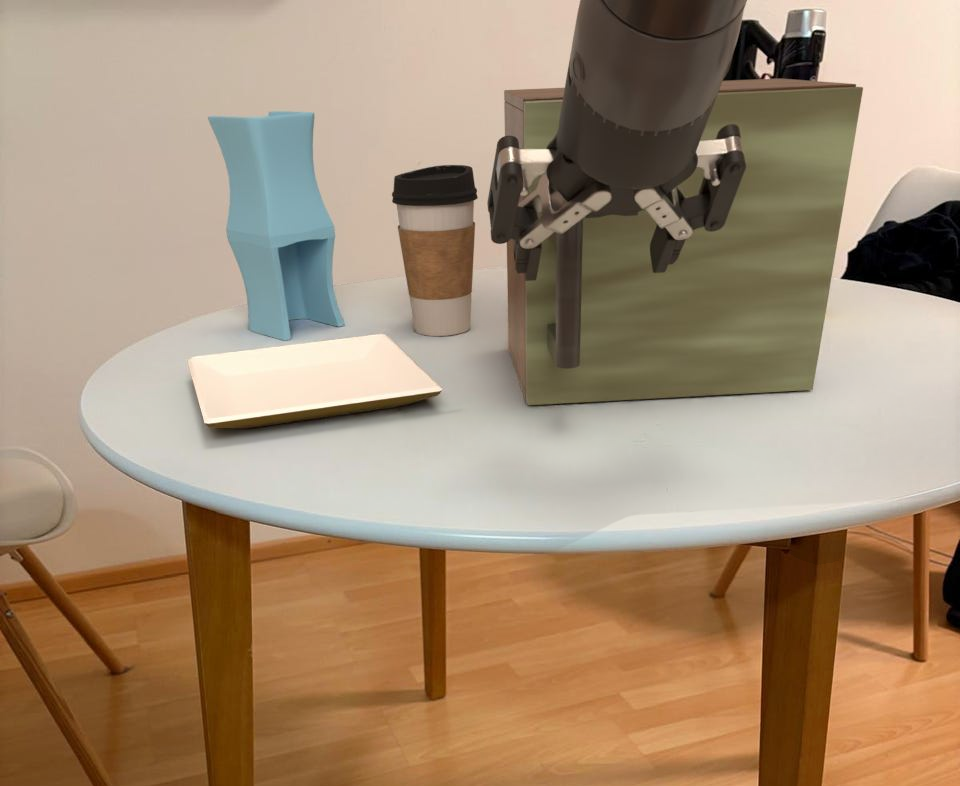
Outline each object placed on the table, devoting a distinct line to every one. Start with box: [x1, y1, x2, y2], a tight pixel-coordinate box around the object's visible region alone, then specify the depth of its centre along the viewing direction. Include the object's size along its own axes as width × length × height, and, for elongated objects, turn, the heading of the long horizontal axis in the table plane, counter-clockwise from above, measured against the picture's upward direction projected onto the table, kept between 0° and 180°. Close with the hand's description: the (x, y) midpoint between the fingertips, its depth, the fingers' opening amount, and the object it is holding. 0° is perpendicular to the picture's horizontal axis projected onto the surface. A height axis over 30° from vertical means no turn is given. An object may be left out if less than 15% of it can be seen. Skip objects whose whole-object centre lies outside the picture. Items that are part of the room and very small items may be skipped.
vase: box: [207, 110, 346, 342], centre depth 93 cm, size 8×8×20 cm
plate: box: [187, 333, 443, 430], centre depth 78 cm, size 19×19×2 cm
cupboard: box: [503, 78, 857, 403], centre depth 76 cm, size 16×24×22 cm
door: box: [524, 86, 864, 406], centre depth 66 cm, size 7×24×21 cm, turn 93°
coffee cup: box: [391, 164, 479, 337], centre depth 92 cm, size 8×8×15 cm
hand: (592, 265), depth 60 cm, fingers open, 8 cm apart
